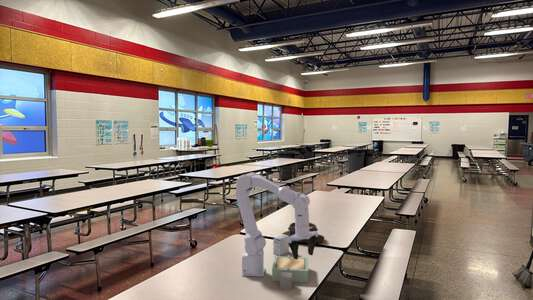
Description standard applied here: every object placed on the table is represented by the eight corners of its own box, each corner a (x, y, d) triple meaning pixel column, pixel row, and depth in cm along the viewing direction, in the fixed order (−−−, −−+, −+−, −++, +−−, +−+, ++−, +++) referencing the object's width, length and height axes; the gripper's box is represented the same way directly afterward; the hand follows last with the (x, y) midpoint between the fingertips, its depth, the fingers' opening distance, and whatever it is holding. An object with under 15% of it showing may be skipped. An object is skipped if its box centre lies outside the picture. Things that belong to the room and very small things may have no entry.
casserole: (328, 237, 190) (328, 223, 189) (318, 248, 173) (319, 232, 173) (288, 232, 201) (288, 218, 200) (276, 241, 184) (276, 226, 184)
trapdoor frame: (272, 280, 136) (272, 267, 135) (274, 266, 150) (274, 254, 149) (308, 282, 134) (308, 269, 134) (307, 268, 148) (307, 256, 148)
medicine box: (282, 249, 171) (282, 233, 170) (289, 251, 168) (289, 235, 167) (273, 254, 165) (273, 237, 164) (280, 256, 162) (280, 239, 161)
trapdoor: (275, 273, 137) (275, 267, 137) (277, 263, 148) (277, 257, 148) (304, 275, 136) (304, 269, 135) (304, 264, 146) (304, 258, 146)
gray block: (280, 289, 129) (280, 277, 128) (280, 284, 133) (280, 272, 133) (291, 290, 128) (291, 277, 128) (291, 284, 133) (291, 272, 132)
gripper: (293, 229, 127) (294, 263, 127) (322, 223, 134) (323, 255, 134) (283, 225, 133) (284, 258, 133) (311, 219, 140) (312, 250, 140)
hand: (303, 256), depth 134 cm, fingers open, 7 cm apart
